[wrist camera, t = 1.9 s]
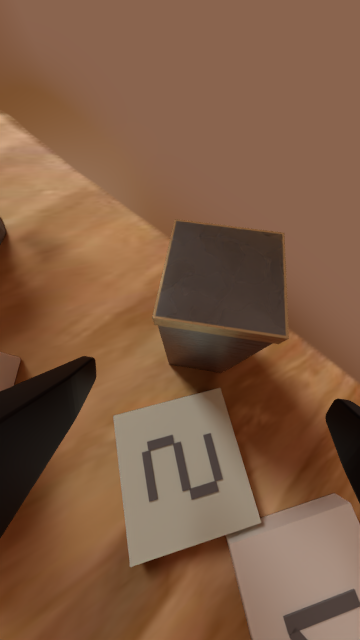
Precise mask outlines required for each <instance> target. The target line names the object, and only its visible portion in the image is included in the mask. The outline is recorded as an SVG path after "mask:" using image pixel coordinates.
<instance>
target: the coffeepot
mask: <svg viewBox="0 0 360 640" xmlns="http://www.w3.org/2000/svg"><path fill="white" fill-rule="evenodd" d="M5 233H6V231H5V227H4V224H3V222H2V221H1V219H0V244H1V243H2V241H3V238H4V235H5Z"/></svg>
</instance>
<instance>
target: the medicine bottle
mask: <svg viewBox="0 0 360 640" xmlns="http://www.w3.org/2000/svg"><path fill="white" fill-rule="evenodd" d="M20 361H21V359H20V358H19V357H17V356H13V355H10V354H6V353H2V352H0V391H2V390H5V389H7V388H9V387H12V386H14V382H15V379H16V375H17V372H18V368H19V364H20Z"/></svg>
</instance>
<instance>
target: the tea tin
mask: <svg viewBox="0 0 360 640" xmlns="http://www.w3.org/2000/svg"><path fill="white" fill-rule="evenodd" d="M152 319H153V322H154V325H158V327H159V331H160V334H161V338H162V341H163V345H164V348H165V352H166V355H167V358H168V362H169V364H171V365H177V366H183V367H189V368H195V369H201V370H207V371H213V372H219V373H222V372H224V371H226V370H227V369H229V368H231V367H233V366H234V365H236V364H238V363H240V362H241V361H243V360H245V359H246V358H248V357H250V356H252V355H253V354H255V353H257V352H259V351H260V350H262V349H264V348H266V347H267V346H269V345H271V344H273V343H274V344H280V343H282V342H284V341H285V340H287V339H289V336H288V312H287V287H286V261H285V236H284V233H281V232H273V231H265V230H257V229H249V228H241V227H232V226H225V225H217V224H209V223H201V222H193V221H185V220H178V219H175V221H174V225H173V229H172V234H171V238H170V242H169V247H168V251H167V256H166V260H165V264H164V269H163V273H162V277H161V282H160V286H159V290H158V295H157V299H156V304H155V308H154V312H153V317H152Z"/></svg>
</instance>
